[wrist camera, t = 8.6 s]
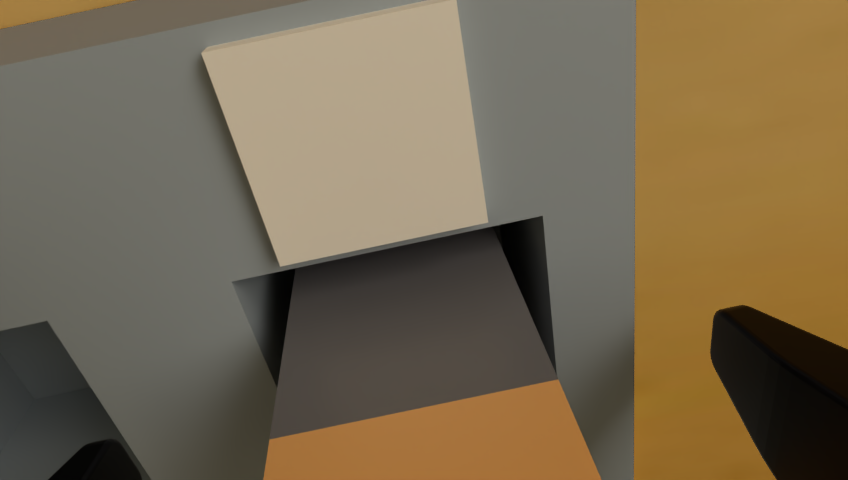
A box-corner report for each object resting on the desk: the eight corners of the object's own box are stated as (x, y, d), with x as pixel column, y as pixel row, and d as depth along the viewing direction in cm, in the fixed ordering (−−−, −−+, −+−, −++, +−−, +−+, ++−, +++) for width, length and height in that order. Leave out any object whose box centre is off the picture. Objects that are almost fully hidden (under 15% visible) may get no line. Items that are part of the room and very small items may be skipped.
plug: (482, 284, 14) (618, 683, 7) (346, 312, 14) (339, 742, 7) (462, 157, 12) (615, 511, 5) (307, 189, 12) (246, 588, 5)
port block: (559, 361, 16) (639, 540, 12) (67, 466, 16) (-44, 685, 12) (522, -82, 11) (648, -68, 6) (-228, 77, 11) (-655, 208, 6)
